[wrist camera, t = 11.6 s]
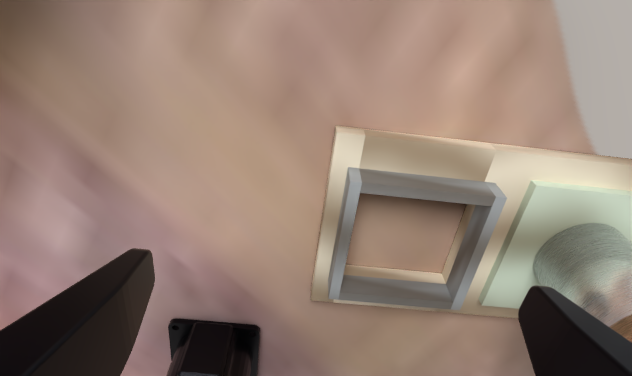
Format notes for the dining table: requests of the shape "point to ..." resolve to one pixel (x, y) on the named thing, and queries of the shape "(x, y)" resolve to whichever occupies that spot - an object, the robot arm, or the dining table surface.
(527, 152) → the pocket board
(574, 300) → the steel tin
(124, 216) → the dining table surface
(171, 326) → the robot arm
